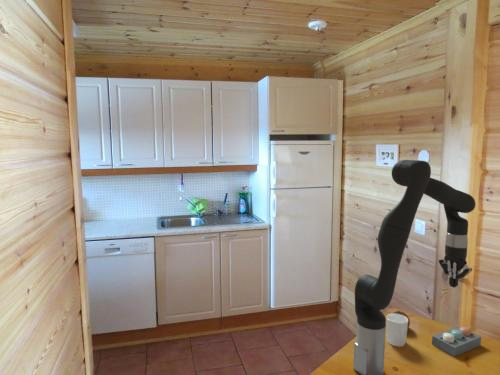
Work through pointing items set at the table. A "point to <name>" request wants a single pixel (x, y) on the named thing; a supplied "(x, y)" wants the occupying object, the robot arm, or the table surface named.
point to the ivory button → (448, 338)
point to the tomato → (403, 315)
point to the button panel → (456, 343)
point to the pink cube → (465, 331)
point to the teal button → (457, 334)
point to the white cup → (396, 329)
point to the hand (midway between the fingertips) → (453, 286)
